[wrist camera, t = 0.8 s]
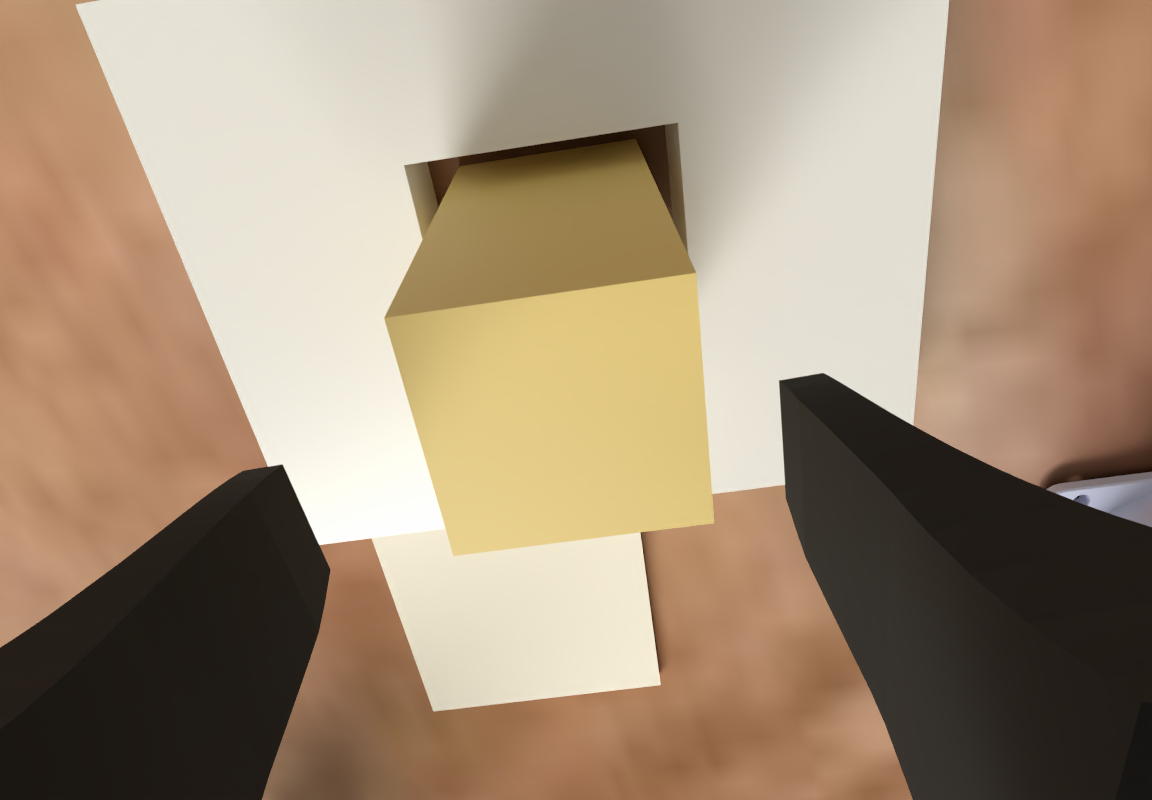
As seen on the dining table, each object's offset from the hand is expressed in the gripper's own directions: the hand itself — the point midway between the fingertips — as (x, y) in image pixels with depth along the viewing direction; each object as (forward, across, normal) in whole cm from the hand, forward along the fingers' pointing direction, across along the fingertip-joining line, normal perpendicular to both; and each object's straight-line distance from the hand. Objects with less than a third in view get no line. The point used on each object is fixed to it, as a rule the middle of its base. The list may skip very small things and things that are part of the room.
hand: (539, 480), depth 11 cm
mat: (+9, +3, +11) cm, 15 cm away
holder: (+9, 0, 0) cm, 9 cm away
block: (+10, 0, 0) cm, 10 cm away
